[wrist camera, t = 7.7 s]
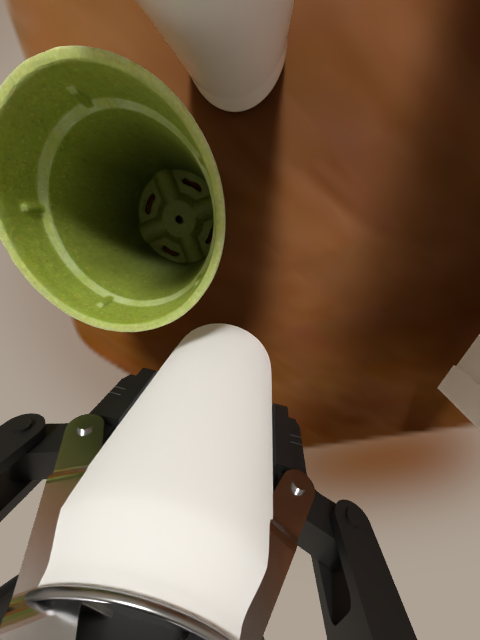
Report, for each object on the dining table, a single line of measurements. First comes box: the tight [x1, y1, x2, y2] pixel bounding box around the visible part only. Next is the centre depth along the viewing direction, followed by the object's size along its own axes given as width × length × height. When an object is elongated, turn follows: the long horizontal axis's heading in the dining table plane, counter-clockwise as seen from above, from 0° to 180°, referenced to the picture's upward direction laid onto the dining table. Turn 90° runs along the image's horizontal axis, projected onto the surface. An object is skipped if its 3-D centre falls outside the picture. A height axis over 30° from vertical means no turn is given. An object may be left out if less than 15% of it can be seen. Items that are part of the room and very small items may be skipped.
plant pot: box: [0, 46, 226, 332], centre depth 13 cm, size 9×9×9 cm
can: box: [24, 323, 273, 640], centre depth 11 cm, size 6×6×12 cm
